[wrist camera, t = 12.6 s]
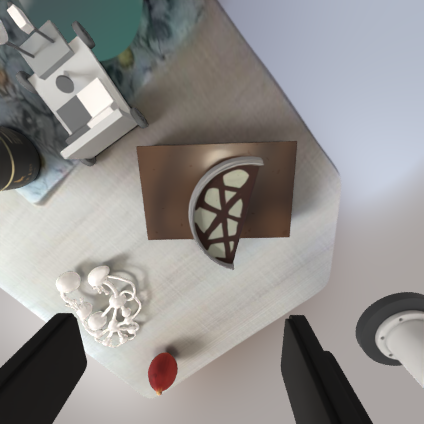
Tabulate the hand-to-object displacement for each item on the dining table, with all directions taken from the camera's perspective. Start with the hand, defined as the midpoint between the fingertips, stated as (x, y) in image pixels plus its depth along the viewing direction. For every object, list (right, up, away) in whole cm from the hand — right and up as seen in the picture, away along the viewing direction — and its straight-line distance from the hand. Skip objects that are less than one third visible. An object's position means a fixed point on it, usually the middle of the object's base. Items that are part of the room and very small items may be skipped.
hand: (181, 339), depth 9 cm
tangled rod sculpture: (-20, -12, +33) cm, 40 cm away
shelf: (+2, +10, +26) cm, 28 cm away
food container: (+2, +8, +21) cm, 22 cm away
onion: (-9, -26, +36) cm, 46 cm away
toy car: (-18, +24, +22) cm, 37 cm away
